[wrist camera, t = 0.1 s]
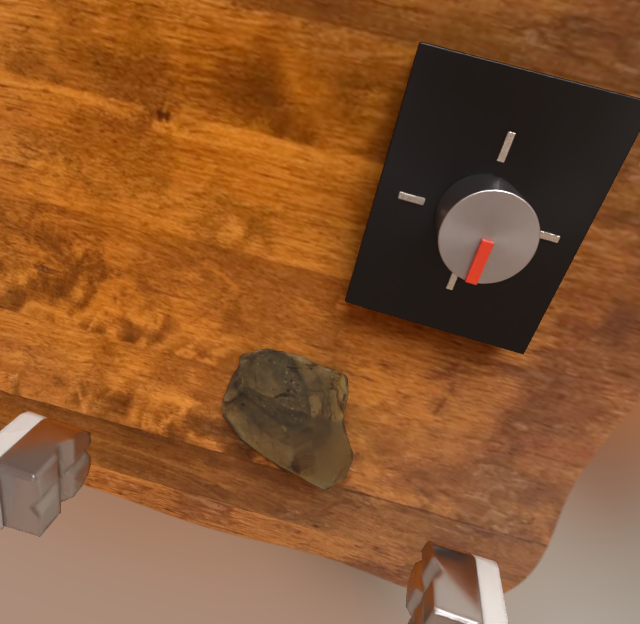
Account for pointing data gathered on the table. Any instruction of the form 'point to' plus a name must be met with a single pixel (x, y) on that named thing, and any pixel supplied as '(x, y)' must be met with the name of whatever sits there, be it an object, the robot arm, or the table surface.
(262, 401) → the decorative stone
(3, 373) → the table surface
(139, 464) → the table surface
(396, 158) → the panel
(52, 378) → the table surface
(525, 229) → the dial
